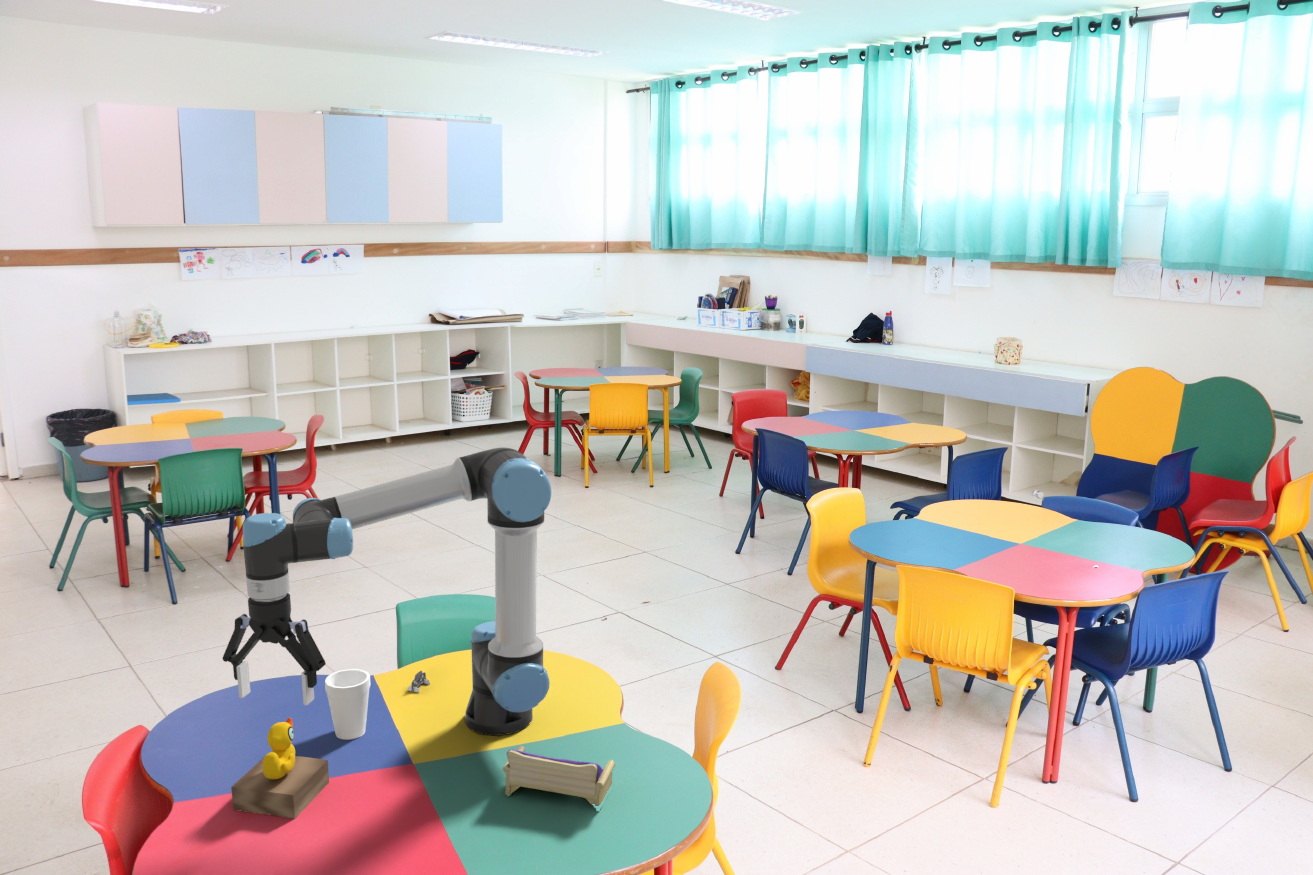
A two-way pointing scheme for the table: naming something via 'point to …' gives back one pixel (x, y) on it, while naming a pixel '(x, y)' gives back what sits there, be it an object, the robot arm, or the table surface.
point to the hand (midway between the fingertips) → (276, 698)
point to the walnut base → (281, 788)
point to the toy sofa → (557, 775)
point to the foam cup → (348, 701)
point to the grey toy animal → (418, 682)
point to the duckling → (279, 750)
